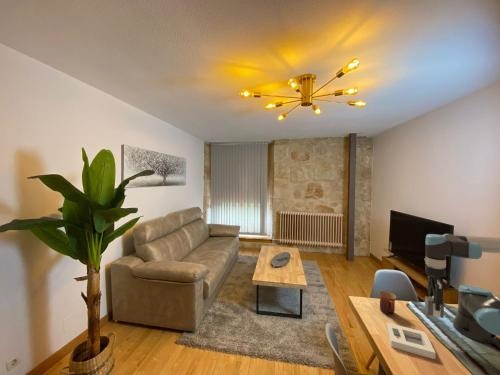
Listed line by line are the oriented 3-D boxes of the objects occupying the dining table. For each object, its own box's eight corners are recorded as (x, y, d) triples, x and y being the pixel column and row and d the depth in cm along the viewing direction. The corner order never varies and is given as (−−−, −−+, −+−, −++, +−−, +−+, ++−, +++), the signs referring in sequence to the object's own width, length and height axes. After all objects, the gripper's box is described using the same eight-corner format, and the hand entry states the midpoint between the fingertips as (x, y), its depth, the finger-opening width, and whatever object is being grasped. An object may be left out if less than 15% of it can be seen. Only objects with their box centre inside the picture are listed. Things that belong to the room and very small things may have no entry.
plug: (439, 313, 104) (440, 296, 104) (443, 318, 100) (444, 300, 100) (424, 309, 107) (425, 293, 107) (427, 314, 103) (428, 297, 103)
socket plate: (424, 337, 103) (424, 330, 103) (435, 359, 90) (435, 351, 90) (386, 328, 110) (386, 321, 110) (391, 346, 97) (391, 339, 97)
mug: (375, 306, 129) (376, 290, 129) (391, 308, 127) (392, 291, 127) (384, 319, 117) (384, 301, 117) (401, 321, 115) (402, 302, 115)
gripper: (420, 259, 113) (419, 302, 113) (431, 271, 97) (431, 321, 97) (438, 261, 109) (437, 305, 110) (453, 274, 94) (452, 326, 94)
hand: (434, 313), depth 103 cm, fingers closed on plug, 4 cm apart
